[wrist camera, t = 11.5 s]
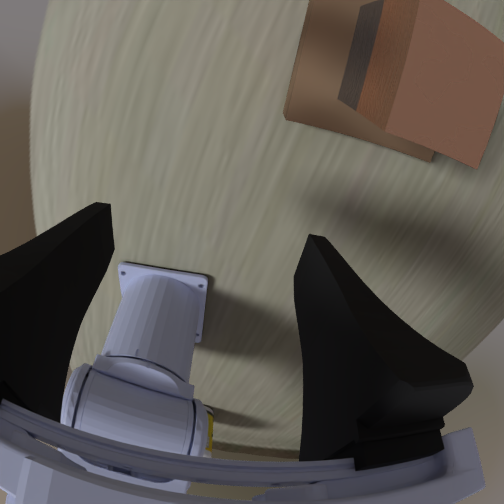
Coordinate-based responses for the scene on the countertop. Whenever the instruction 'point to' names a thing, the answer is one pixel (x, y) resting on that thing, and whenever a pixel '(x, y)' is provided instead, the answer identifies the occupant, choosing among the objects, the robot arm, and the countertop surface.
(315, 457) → the robot arm
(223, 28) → the countertop surface
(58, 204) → the countertop surface
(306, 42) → the walnut stand
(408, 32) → the block
